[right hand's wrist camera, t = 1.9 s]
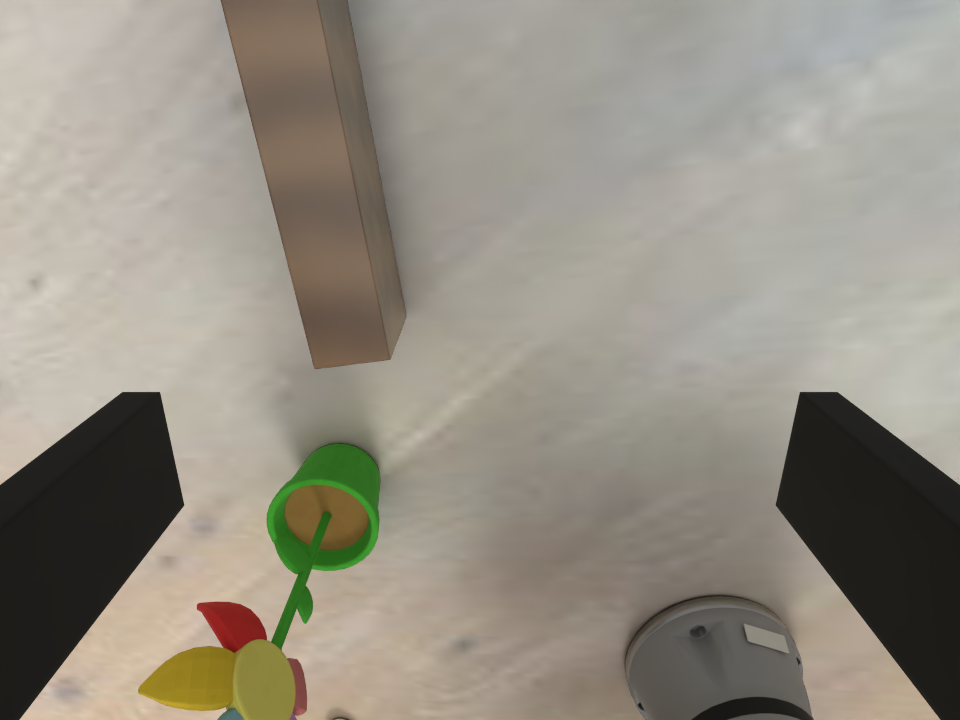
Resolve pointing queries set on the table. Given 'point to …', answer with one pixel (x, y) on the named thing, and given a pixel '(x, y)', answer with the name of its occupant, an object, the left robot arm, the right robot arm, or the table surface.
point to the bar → (321, 173)
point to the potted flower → (301, 546)
